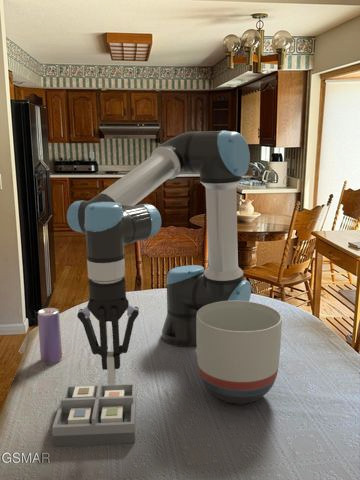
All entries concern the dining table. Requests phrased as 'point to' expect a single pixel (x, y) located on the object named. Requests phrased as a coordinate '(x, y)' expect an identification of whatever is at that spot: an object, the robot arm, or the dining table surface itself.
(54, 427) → the keypad
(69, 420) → the key
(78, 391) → the key
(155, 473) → the dining table surface
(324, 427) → the dining table surface
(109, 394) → the key
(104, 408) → the key
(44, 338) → the beverage can
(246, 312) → the planter
